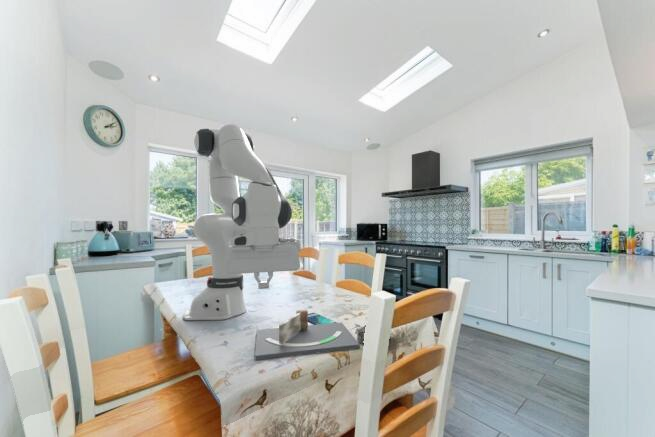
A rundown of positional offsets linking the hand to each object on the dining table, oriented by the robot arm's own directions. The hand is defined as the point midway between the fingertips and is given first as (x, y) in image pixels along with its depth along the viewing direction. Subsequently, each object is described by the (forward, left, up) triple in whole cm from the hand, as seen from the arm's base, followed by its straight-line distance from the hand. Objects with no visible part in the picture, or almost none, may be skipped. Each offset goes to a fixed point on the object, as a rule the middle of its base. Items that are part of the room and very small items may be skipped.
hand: (263, 288), depth 76 cm
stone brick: (+9, +5, -15) cm, 18 cm away
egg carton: (+32, -1, -17) cm, 36 cm away
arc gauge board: (+12, +3, -17) cm, 21 cm away
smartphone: (+19, +19, -17) cm, 32 cm away
